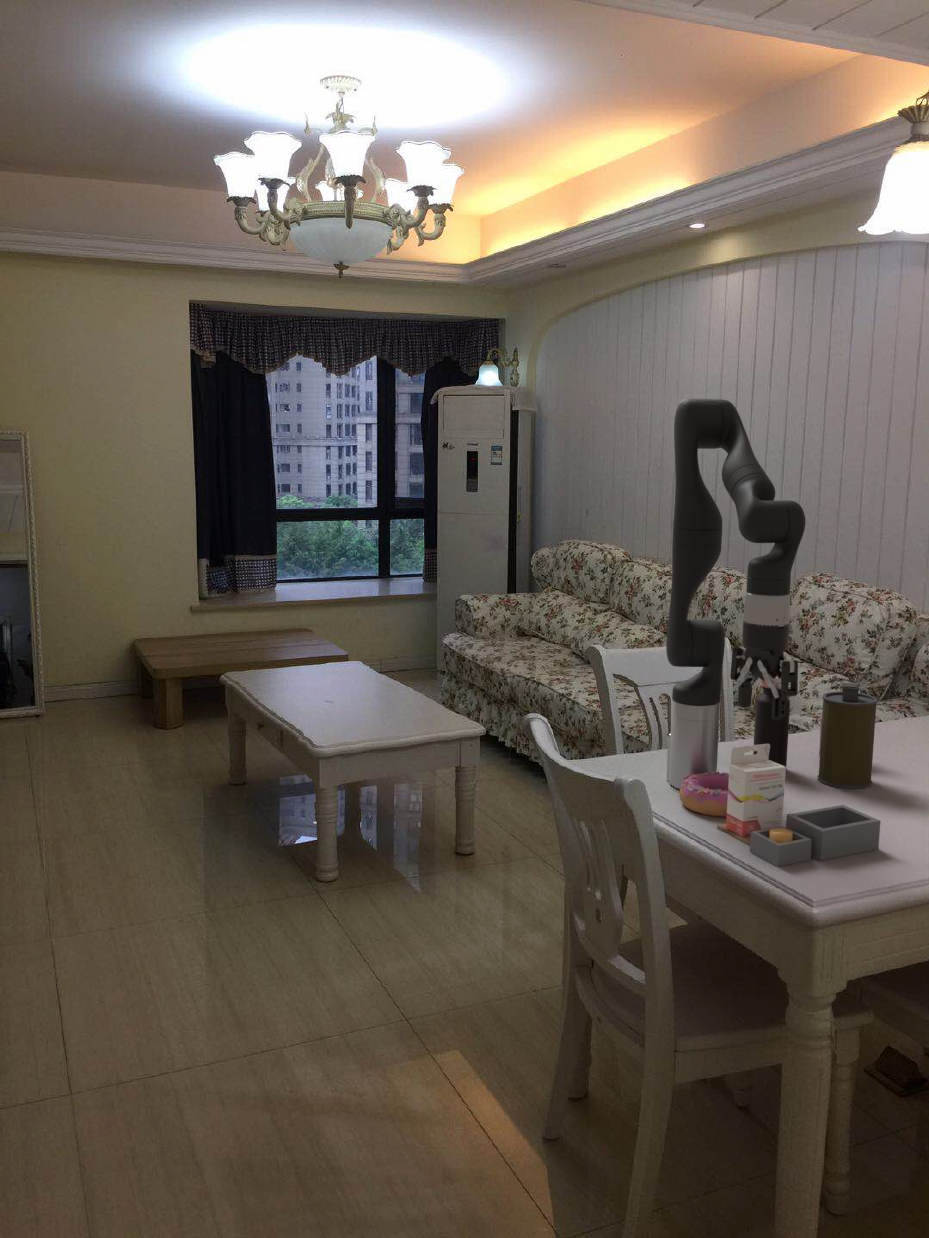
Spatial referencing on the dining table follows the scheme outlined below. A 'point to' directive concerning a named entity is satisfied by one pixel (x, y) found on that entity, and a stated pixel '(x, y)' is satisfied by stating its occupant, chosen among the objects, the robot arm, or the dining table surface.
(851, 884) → the dining table surface
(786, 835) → the egg
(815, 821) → the gray open bin
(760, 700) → the black water bottle
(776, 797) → the ink cartridge box
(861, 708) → the canister
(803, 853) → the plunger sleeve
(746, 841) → the walnut pad
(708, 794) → the donut
